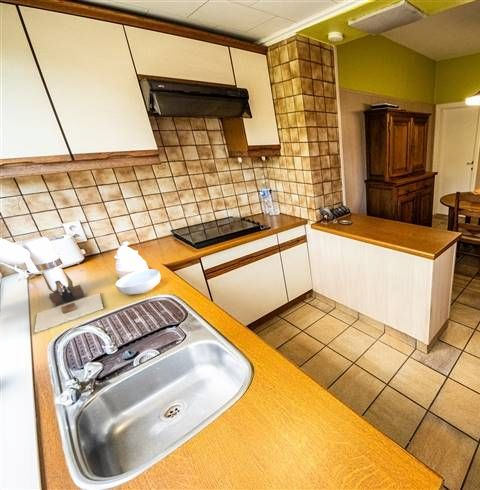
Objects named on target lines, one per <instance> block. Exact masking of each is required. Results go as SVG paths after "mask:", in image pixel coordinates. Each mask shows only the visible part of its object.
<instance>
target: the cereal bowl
mask: <svg viewBox="0 0 480 490" xmlns="http://www.w3.org/2000/svg"><path fill="white" fill-rule="evenodd" d="M161 279H162V275H161V273H160V271H159V270H158V269H155V268H149V269H147V270H141V271H137V272H134V273H131V274H129V275H127V276H124V277H123V278H121V279H120V278H119V279H118V280H117V281H116V282H115V287H116V289H117V290H118V291H119V293H121V294H124V295H130V296H131V295H141V294H145V293H147V292H150V291H152V290H153V289H154V288H155V287H156V286H157V285H159V283H160V282H161Z"/></svg>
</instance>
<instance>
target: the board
mask: <svg viewBox="0 0 480 490" xmlns="http://www.w3.org/2000/svg"><path fill="white" fill-rule="evenodd" d="M71 303H75V304H76V306H77V310H74V311H71V312H68V313H65V314H63V312H62V311H61V307H62V306H65V305H68V304H71ZM103 309H105V308H104V304H103V300H102V296H101V293H100V292H98V293H95V294H92V295H89V296H86V297H83V298H80V299H77V300H74V301H71V302H68V303H65V304H62V305H59V306H55V307H52V308H49V309H46V310H43V311H40V312H38V313H36V319H35V324H34V333H35V334H38V333H39V332H43V331H45V330H48V329H51V328H54V327H56V326H60V325H61V324H65V323H67V322H70V321H73V320H75V319H78V318H79V319H80V318H82V317H84V316H87V315H89V314H92V313H96V312H98V311H101V310H103Z"/></svg>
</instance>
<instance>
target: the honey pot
mask: <svg viewBox="0 0 480 490" xmlns="http://www.w3.org/2000/svg"><path fill="white" fill-rule="evenodd" d="M129 244H130V242H129V241H123V242H122V245H120V246H119V247H118V248H117V250H116V253H115V255H114V256H113V259H114V260H115V272H116V274H117V277H118V278H119V279H121V278H123V277H124V276H127V275H129V274H131V273H134V272H137V271H141V270H147V269H150V268H149V266H148V264H147V261H146V260H145V259H144V258H143V257H142V256H141V255H139V251H138V250H136V249H132V248H131V247H129V246H128V245H129Z"/></svg>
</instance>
